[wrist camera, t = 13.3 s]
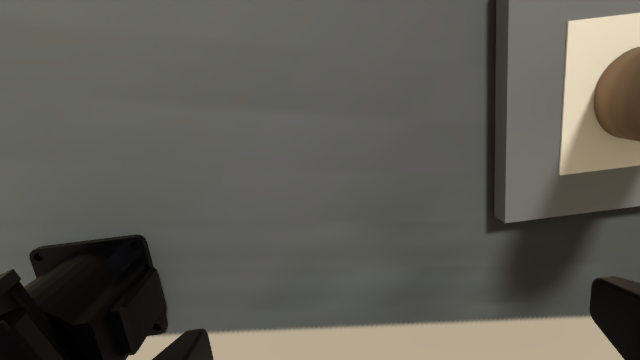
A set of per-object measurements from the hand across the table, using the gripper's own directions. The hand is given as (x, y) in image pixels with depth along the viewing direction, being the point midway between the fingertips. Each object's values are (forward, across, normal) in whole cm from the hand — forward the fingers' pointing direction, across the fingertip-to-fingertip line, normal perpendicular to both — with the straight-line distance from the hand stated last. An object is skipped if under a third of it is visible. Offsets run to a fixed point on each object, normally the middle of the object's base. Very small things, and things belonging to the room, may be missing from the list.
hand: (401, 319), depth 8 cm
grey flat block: (+13, -17, -3) cm, 22 cm away
